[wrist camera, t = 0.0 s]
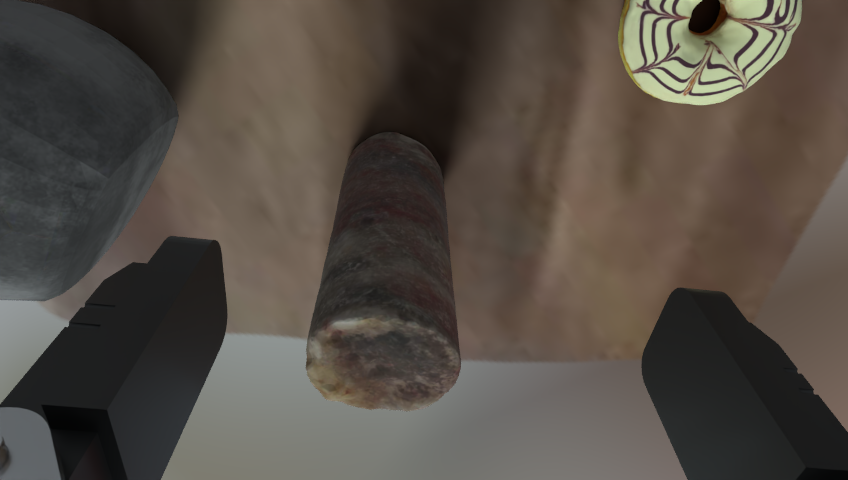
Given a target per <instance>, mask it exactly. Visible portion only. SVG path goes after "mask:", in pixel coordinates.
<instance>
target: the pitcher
mask: <svg viewBox="0 0 848 480" xmlns="http://www.w3.org/2000/svg"><path fill="white" fill-rule="evenodd" d="M177 121H178V110H177V104H176V103H175V102H174V100H173V98H172V97H171V95H170V93H169V91H168V90H167V88H166V87H165V86H164V85H163V83H162V82H161V81H160V79H159V78H158V77H157V75H156V74H155V73H154V71H153V70H152V69H151V68H150V67H149V66H148V65H147V64H146V63H145V62H144V61H143V60H142V59H141V58H139V57H138V56H137V55H136V54H135V53H134V52H133V51H132V50H131V49H129V48H128V47H126V46H125V45H124V44H122V43H121V42H120V41H118V40H117V39H115V38H114V37H113V36H111V35H110V34H108V33H106V32H105V31H103V30H101V29H99V28H97V27H95V26H93V25H91V24H89V23H87V22H85V21H83V20H81V19H79V18H77V17H75V16H73V15H71V14H68V13H65V12H62V11H59V10H56V9H53V8H50V7H47V6H44V5H41V4H36V3H30V2H24V1H18V0H0V300H27V301H46V300H49V299H52V298H54V297H56V296H59V295H61V294H63V293H64V292H66V291H67V290H68V289H70V288H71V287H72V286H74V285H75V284H76V283H77V282H78V281H79V280H80V279H82V278H83V277H84V276H85V275H86V274H87V273H88V272H89V271H90V270H91V269H92V268H93V267H94V266H95V265H96V263H97V262H98V261H99V260H100V259H101V258H102V256H103V255H104V254H105V253H106V252H107V250H108V249H109V248H110V247H111V245H112V244H113V243H114V241H115V240H116V239H117V237H118V236H119V235H120V233H121V232H122V230H123V229H124V228H125V226H126V225H127V223H128V222H129V220H130V219H131V217H132V216H133V214H134V213H135V211H136V209H137V208H138V206H139V205H140V203H141V201H142V200H143V198H144V196H145V195H146V193H147V191H148V189H149V188H150V186H151V184H152V182H153V180H154V178H155V176H156V174H157V173H158V171H159V169H160V167H161V165H162V162H163V160H164V158H165V156H166V153H167V151H168V149H169V146H170V143H171V141H172V138H173V135H174V132H175V129H176V125H177Z"/></svg>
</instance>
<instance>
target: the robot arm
mask: <svg viewBox="0 0 848 480" xmlns="http://www.w3.org/2000/svg"><path fill="white" fill-rule="evenodd" d="M226 325H227V302H226V292H225V282H224V273H223V263H222V253H221V248H220V245H219V243H218V241H216V240H207V239H197V238H187V237H176V236H170V237H168V238H167V239H166V240H165V241H164V242H163V243H162V245H161V246H160V247H159V249H158V250H157V251H156V253H155V254H154V255H153V257H152V258H151V259H150V261H149V262H148V263H147V264H146V263H135V262H133V263H131V264H129V265H128V266H126V267H125V268H123V269H121V270H120V271H118V272H116V273H115V274H113V275H112V276H110V277H108V278H107V279H105V280H104V281H103V282H102V283H101V284H100V286H99V287H98V288H97V289H96V290H95V292H94V293H93V294H92V295H91V296H90V298H89V299H88V300H87V301H86V302H85V307H84V308H82V307H81V308H80V310H79V311H78V312H77V313H76V314H75V316H74V317H73V318H72V319H71V320H70V322H69V326H68V327H65V328H64V329H63V330H62V331H61V332H60V334H59V335H58V336H57V337H56V338H55V340H54V341H53V342H52V343H51V344H50V345H49V347H48V348H47V349H46V350H45V351H44V353H43V354H42V355H41V356H40V357H39V359H38V360H37V361H36V362H35V364H34V365H33V366H32V367H31V368H30V370H29V371H28V372H27V373H26V374H25V375H24V377H23V378H22V379H21V380H20V382H19V383H18V384H17V385H16V386H15V388H14V389H13V390H12V391H11V392H10V394H9V395H8V396H7V397H6V398H5V399H4V401H3V402H2V403H1V404H0V480H161V478H162V476H163V473H164V471H165V469H166V467H167V465H168V462H169V460H170V458H171V456H172V453H173V451H174V449H175V447H176V445H177V443H178V440H179V438H180V436H181V434H182V431H183V429H184V427H185V425H186V423H187V420H188V418H189V416H190V414H191V412H192V409H193V407H194V405H195V403H196V401H197V398H198V396H199V394H200V392H201V389H202V387H203V385H204V383H205V381H206V378H207V376H208V374H209V372H210V370H211V367H212V365H213V363H214V361H215V359H216V356H217V354H218V352H219V350H220V347H221V345H222V342H223V339H224V336H225V331H226ZM642 375H643V380H644V383H645V386H646V388H647V390H648V393H649V395H650V397H651V399H652V401H653V403H654V406H655V408H656V410H657V413H658V415H659V417H660V419H661V421H662V424H663V426H664V428H665V430H666V432H667V435H668V437H669V439H670V442H671V444H672V446H673V448H674V450H675V453H676V455H677V457H678V459H679V462H680V464H681V466H682V468H683V470H684V472H685V475H686V477H687V479H688V480H848V432H847V431H846V430H845V428H844V427H843V426H842V425H841V423H840V422H839V421H838V419H837V418H836V417H835V416H834V414H833V413H832V412H831V411H830V409H829V408H828V407H827V406H826V404H825V403H824V402H823V401H822V399H821V398H820V397H819V395H815V394H814V393H813V390H814V389H813V388H812V386H811V385H810V384H809V383H808V381H807V380H806V379H805V378H804V376H803V375H802V374H798V373H797V368H796V366H795V365H794V364H793V362H792V361H791V360H790V358H789V357H788V356H787V355H786V353H785V352H784V351H783V350H782V348H781V347H780V346H779V345H778V344H777V343H776V342H775V341H773V340H772V339H771V338H770V337H768V336H767V335H765V334H764V333H763V332H762V331H761V330H759V329H758V328H757V327H756V326H754V325H753V324H752V323H749V322H748V321H747V320H746V318H745V317H744V316H743V314H742V313H741V312H740V311H739V309H738V308H737V307H736V305H735V304H734V303H733V301H732V300H731V299H730V297H729V296H728V295H727V294H725V293H723V292H720V291H710V290H699V289H689V288H677V289H675V290H674V291H673V292H672V293H671V294H670V296H669V298H668V300H667V302H666V304H665V306H664V308H663V310H662V312H661V315H660V317H659V319H658V321H657V323H656V325H655V327H654V330H653V332H652V334H651V336H650V338H649V340H648V342H647V345H646V347H645V349H644V352H643V356H642Z"/></svg>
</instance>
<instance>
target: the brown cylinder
mask: <svg viewBox="0 0 848 480" xmlns="http://www.w3.org/2000/svg"><path fill="white" fill-rule="evenodd" d="M306 351H307V362H306V370H307V375H308V377H309V379H310V382H311V383H312V384H313V385H314V387H315V388H316V389H318V390H319V391H320V393H321V394H322V395H323V397H324V398H325V399H326V400H330V401H340V402H344V403H345V404H347V405H351V406H355V407H358V408H365V409H370V410H371V409H388V410H403V411H413V410H420V409H423V408H426V407H428V406H429V405H431V404H433V403H434V402H436V401H438V400H439V399H440V398H441V397H442V396H443V395H444V394H445V393H446V392H448V391H449V390H450V389H451V388H452V387H453V385H454V384H455V383H456V380H457V378H458V376H459V372H460V368H461V358H460V350H459V341H458V330H457V320H456V312H455V301H454V291H453V282H452V271H451V262H450V250H449V240H448V225H447V212H446V201H445V193H444V184H443V178H442V173H441V169H440V166H439V164H438V163H437V161H436V159H435V158H434V156H433V155H432V154H431V152H430V151H429V150H428V149H427V148H426V147H425V146H424V145H422V144H421V143H419V142H417V141H416V140H413V139H411V138H409V137H406V136H404V135H402V134H399V133H397V132H384V133H379V134H376V135H374V136H371V137H370V138H368V139H366V140H365V141H364V142H362V143H361V144H359V145H358V146H357V147H356V148H355V150H354V151H353V152H352V154H351V155H350V157H349V160H348V163H347V166H346V169H345V173H344V177H343V181H342V186H341V190H340V195H339V200H338V206H337V211H336V215H335V220H334V226H333V231H332V234H331V238H330V243H329V247H328V252H327V256H326V260H325V264H324V268H323V273H322V279H321V284H320V289H319V292H318V296H317V300H316V303H315V310H314V313H313V317H312V321H311V326H310V330H309V335H308V340H307V349H306Z"/></svg>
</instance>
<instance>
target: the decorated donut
mask: <svg viewBox="0 0 848 480" xmlns="http://www.w3.org/2000/svg"><path fill="white" fill-rule="evenodd" d="M701 1H702V0H625V2H624V6H623V9H622V14H621V18H620V25H619V31H618V43H619V50H620V54H621V57H622V60H623V63H624V65H625V68H626V70H627V72H628V74H629V75H630V77H631V78H632V79H633V81H634V82H635V83H636V84H637V85H638V87H640V88H641V89H642V90H643V91H644V92H645V93H648V94H650V95H652V96H653V97H656V98H659V99H662V100H664V101H669V102H675V103H688V104H693V105H708V104H714V103H719V102H723V101H725V100H727V99H729V98H731V97H733V96H734V95H736V94H738V93H740V92H743V91H744V90H746V89H747V88H748V87H750V86H751V85H753V84H754V83H755V82H756V81H757V80H758V79H759V78H761V77H762V76H763V75H764V74H765V73H766V72H767V71H768V70H769V69H770V68H771V67H772V66H773V65H774V64H775V63H777V62H778V61H779V60H780V59H781V58H782V57H783V56H784V55H785V53H786V51H787V49H788V47H789V45H790V42H791V37H792V34H793V32H794V31H795V29H796V28H797V26H798V25H799V24H800V21H801V11H802V0H719V2H720V7H721V9H720V11H719V16H718V18H717V20H716V22H715V23H714V24H713V26H712V27H711V28H710V29H709V30H707V31H705V32H703V33H695V32H693V31H691V30H689V28H688V24H689V21H690V18H691V14H692V11H693V9H694V8H695V6H696V5H697V4H698V3H700V2H701Z"/></svg>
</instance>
